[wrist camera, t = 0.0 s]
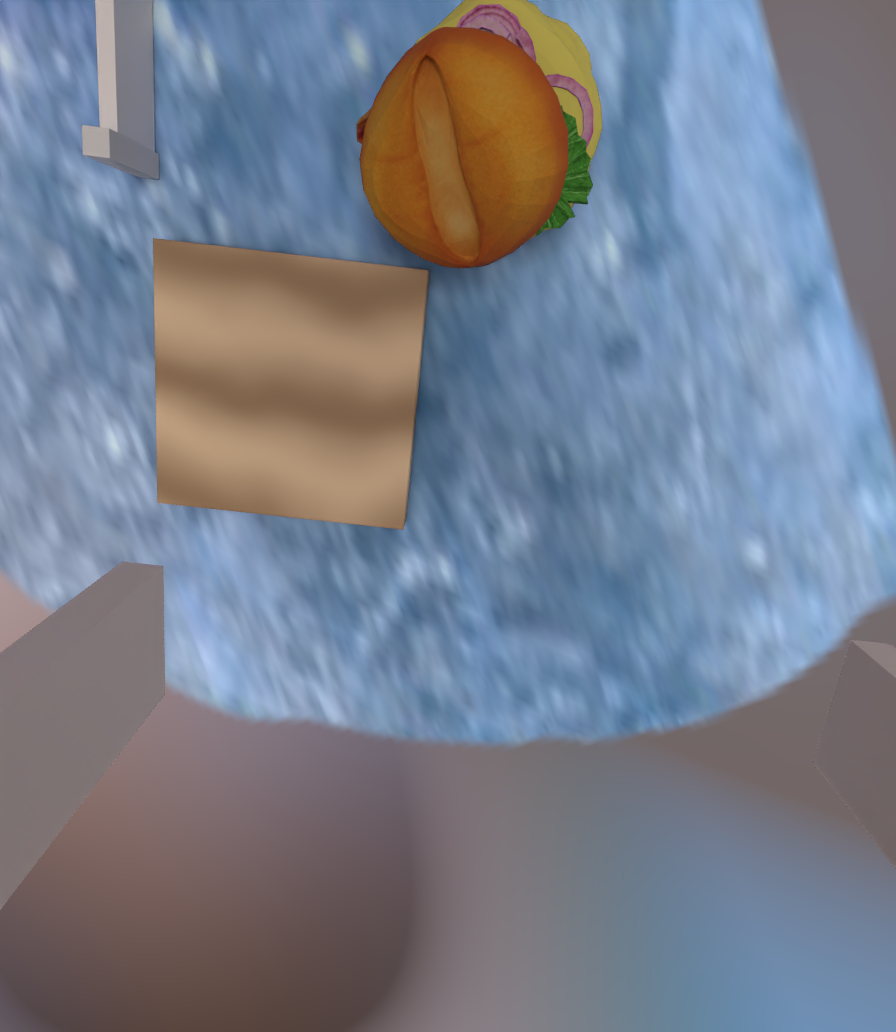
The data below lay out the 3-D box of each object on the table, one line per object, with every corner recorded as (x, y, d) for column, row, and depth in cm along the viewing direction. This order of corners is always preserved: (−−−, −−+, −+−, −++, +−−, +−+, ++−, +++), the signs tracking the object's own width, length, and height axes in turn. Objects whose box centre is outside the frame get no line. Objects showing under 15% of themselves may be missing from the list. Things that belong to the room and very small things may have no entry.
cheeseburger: (652, 127, 33) (652, 156, 25) (497, 279, 39) (456, 342, 31) (510, -56, 30) (459, -88, 22) (367, 137, 36) (286, 166, 28)
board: (169, 242, 36) (153, 238, 34) (429, 272, 36) (428, 270, 34) (171, 493, 40) (157, 502, 38) (406, 519, 40) (403, 529, 39)
